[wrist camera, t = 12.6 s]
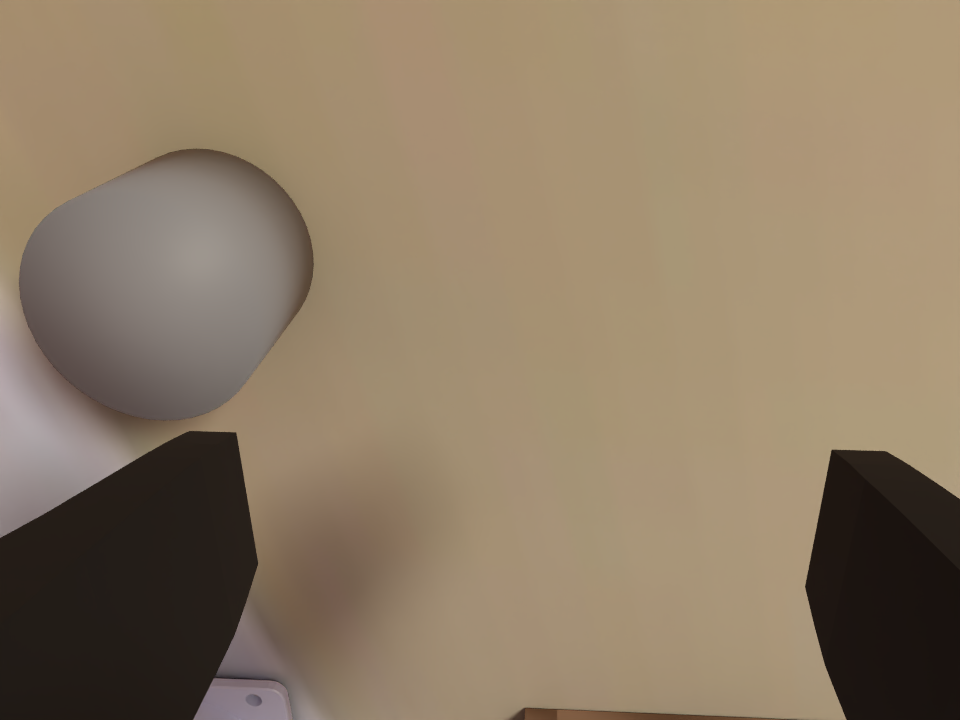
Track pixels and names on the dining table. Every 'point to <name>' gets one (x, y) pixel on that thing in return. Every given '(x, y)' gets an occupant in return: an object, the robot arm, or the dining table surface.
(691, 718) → the walnut collar block
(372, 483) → the dining table surface
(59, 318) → the grey rounded piece
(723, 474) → the dining table surface
